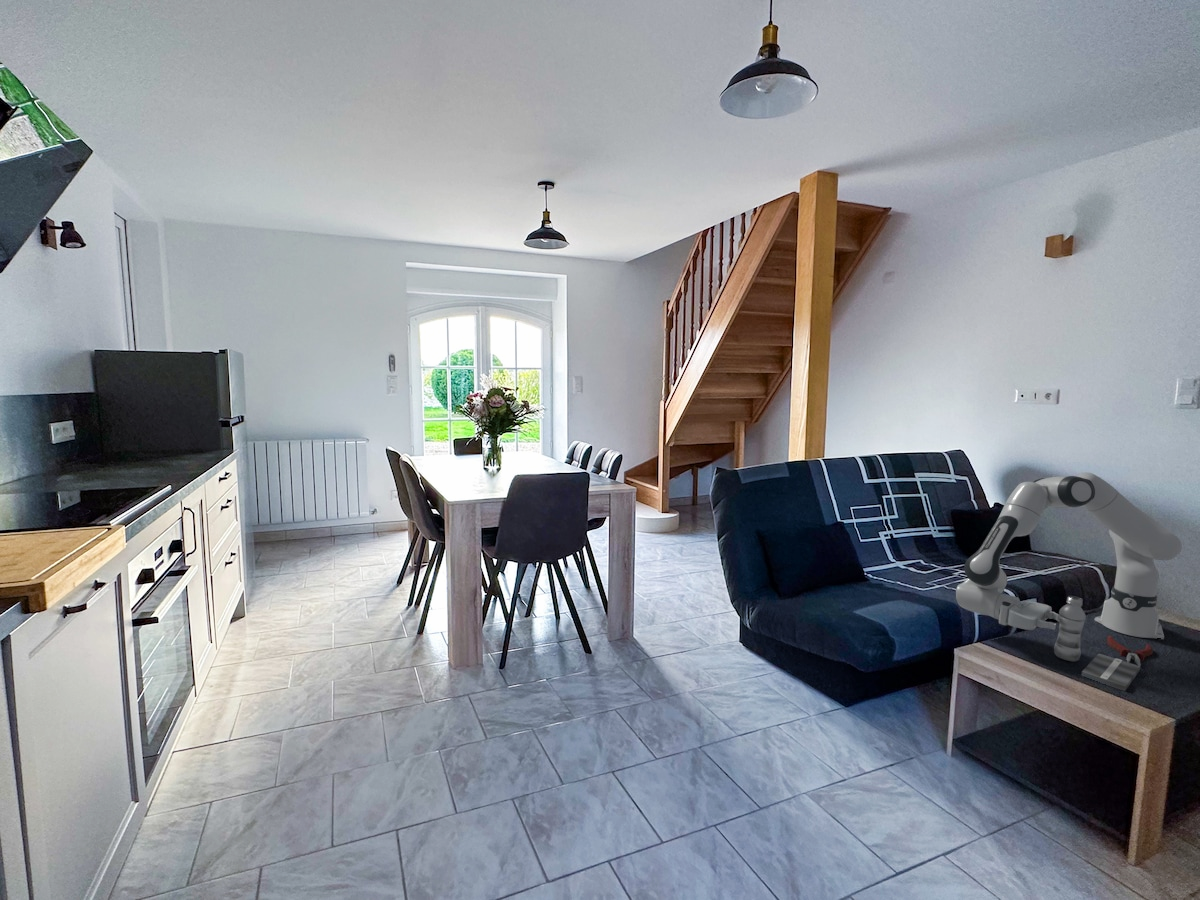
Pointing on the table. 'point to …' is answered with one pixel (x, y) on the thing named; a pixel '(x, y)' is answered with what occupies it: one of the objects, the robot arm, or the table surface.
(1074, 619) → the plastic bottle
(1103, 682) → the subfloor board
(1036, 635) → the table surface
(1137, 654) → the pliers
